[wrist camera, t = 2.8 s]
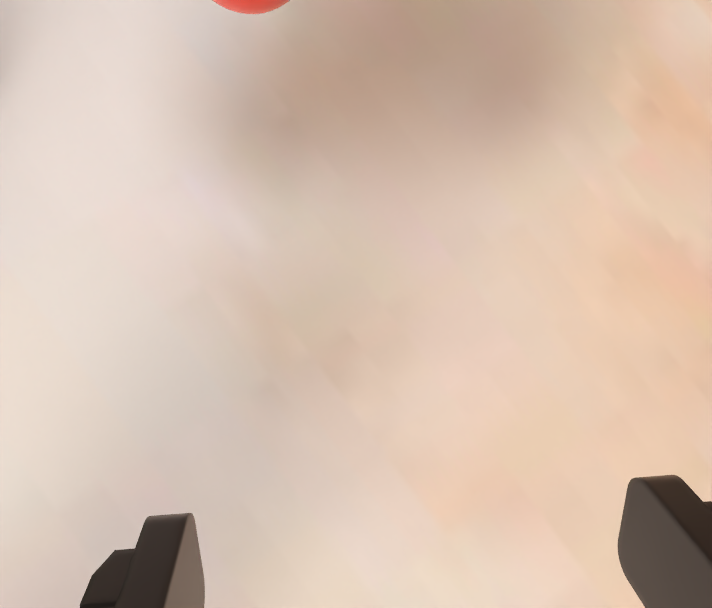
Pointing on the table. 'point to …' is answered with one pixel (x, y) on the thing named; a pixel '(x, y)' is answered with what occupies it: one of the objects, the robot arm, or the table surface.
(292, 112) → the table surface
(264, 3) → the lever
